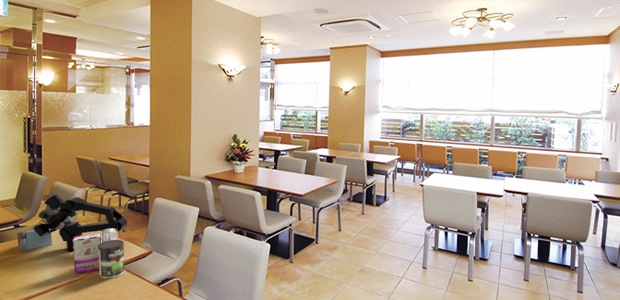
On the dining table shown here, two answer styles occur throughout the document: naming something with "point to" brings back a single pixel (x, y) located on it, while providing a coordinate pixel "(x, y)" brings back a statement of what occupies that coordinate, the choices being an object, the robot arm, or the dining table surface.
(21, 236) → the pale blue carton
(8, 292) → the dining table surface
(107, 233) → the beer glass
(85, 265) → the candy bar box
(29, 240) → the hinge leaf
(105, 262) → the coffee can
